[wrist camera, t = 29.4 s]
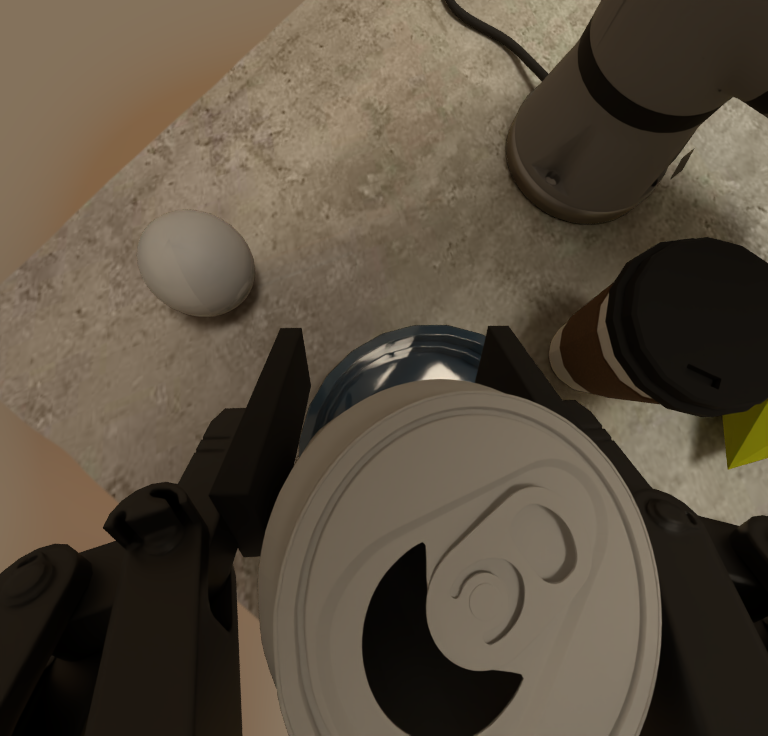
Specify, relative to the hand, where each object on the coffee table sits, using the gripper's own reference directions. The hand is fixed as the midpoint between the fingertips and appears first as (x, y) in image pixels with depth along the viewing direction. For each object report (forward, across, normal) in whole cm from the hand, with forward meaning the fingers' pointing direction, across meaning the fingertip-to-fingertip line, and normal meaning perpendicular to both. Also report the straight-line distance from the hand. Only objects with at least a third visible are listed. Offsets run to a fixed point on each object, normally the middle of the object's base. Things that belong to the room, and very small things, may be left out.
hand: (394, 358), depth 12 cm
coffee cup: (+14, +19, -10) cm, 25 cm away
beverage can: (-1, -1, -7) cm, 7 cm away
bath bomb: (+19, -14, -5) cm, 24 cm away
